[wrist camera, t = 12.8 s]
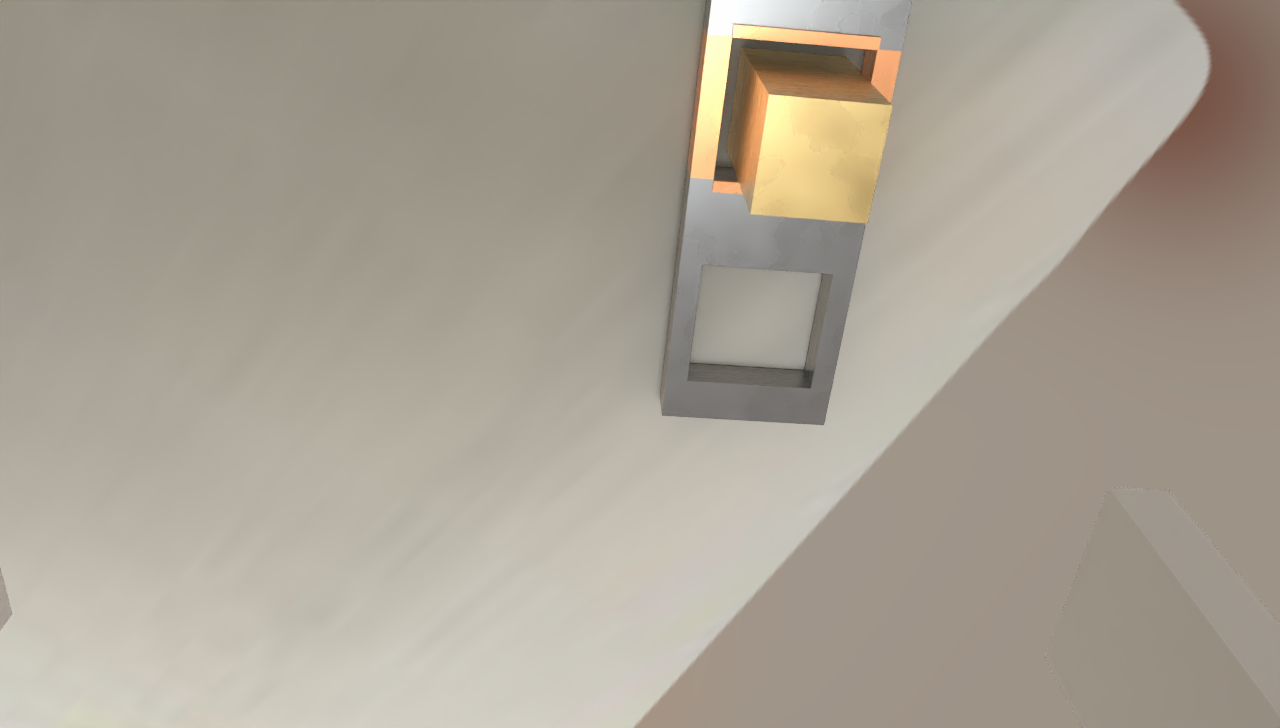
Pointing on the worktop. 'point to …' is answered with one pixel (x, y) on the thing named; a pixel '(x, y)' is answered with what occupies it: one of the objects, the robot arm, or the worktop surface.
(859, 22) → the grey slotted board
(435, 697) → the worktop surface
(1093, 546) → the robot arm
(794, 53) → the block
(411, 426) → the worktop surface
